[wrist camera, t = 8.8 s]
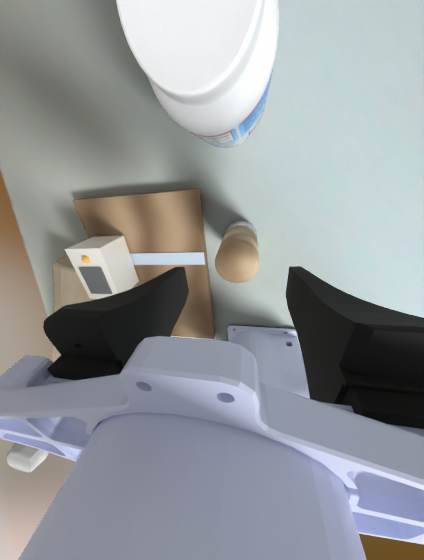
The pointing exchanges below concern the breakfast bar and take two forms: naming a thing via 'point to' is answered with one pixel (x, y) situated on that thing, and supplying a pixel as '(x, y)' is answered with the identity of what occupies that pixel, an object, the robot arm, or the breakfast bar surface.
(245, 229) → the tan rounded cylinder
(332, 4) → the breakfast bar surface
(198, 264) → the board
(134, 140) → the breakfast bar surface
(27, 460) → the hammer
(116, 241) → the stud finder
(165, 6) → the pill bottle
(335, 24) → the breakfast bar surface
